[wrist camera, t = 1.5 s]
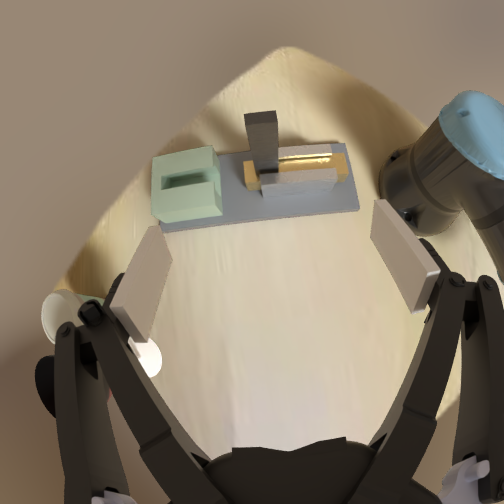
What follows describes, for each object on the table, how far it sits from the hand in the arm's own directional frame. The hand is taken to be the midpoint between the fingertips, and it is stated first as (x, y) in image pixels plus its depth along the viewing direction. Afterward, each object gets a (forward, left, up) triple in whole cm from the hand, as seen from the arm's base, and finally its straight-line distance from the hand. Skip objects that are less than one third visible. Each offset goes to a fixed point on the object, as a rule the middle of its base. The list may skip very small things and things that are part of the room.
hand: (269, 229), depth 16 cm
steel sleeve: (-4, -12, -22) cm, 25 cm away
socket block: (+11, -12, -22) cm, 27 cm away
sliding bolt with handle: (-4, -12, -21) cm, 24 cm away
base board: (+1, -12, -23) cm, 26 cm away
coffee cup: (+30, +6, -23) cm, 38 cm away
